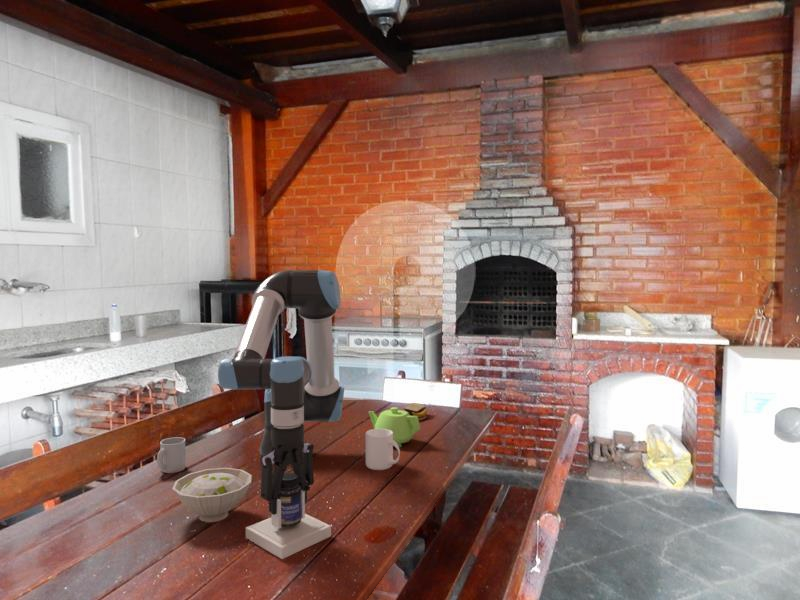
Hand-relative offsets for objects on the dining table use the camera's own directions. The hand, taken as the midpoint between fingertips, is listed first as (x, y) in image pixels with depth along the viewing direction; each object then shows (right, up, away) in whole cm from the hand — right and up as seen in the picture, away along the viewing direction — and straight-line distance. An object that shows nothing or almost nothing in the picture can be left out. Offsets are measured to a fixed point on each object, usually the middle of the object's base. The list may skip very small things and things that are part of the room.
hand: (288, 521), depth 132 cm
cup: (-45, -1, +42) cm, 61 cm away
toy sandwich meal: (+31, +2, +103) cm, 107 cm away
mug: (+21, -1, +46) cm, 50 cm away
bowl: (-21, -3, +11) cm, 24 cm away
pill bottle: (0, 0, 0) cm, 0 cm away
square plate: (0, -4, 0) cm, 4 cm away
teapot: (+24, 0, +70) cm, 74 cm away
